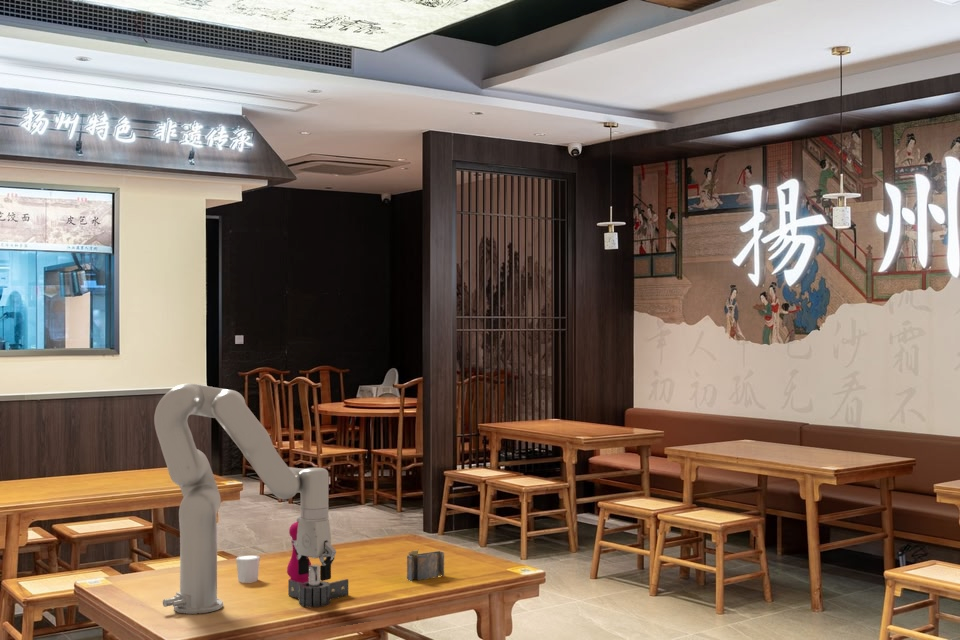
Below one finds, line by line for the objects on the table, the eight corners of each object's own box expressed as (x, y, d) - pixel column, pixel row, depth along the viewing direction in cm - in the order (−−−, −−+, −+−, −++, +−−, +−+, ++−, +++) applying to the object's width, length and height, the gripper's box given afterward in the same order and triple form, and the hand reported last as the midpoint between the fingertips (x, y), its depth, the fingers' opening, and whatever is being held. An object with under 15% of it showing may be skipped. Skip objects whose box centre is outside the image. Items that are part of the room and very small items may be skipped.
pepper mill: (306, 588, 279) (306, 519, 279) (283, 587, 280) (283, 518, 281) (315, 582, 286) (315, 514, 286) (292, 581, 287) (292, 514, 288)
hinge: (311, 608, 258) (311, 590, 258) (277, 598, 268) (277, 580, 269) (357, 597, 269) (357, 579, 269) (322, 587, 280) (322, 570, 280)
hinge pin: (313, 605, 262) (313, 567, 262) (306, 603, 264) (306, 566, 264) (322, 602, 264) (322, 566, 264) (315, 600, 266) (315, 564, 266)
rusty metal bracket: (412, 583, 287) (411, 550, 287) (407, 581, 289) (407, 548, 290) (445, 578, 293) (444, 545, 293) (439, 576, 295) (439, 544, 296)
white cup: (242, 584, 284) (242, 560, 284) (232, 580, 289) (232, 556, 290) (263, 580, 289) (263, 557, 289) (253, 576, 294) (253, 553, 294)
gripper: (284, 511, 267) (284, 574, 267) (323, 519, 256) (323, 584, 255) (306, 508, 273) (306, 569, 272) (345, 515, 261) (345, 579, 261)
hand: (314, 576), depth 264 cm, fingers open, 9 cm apart
